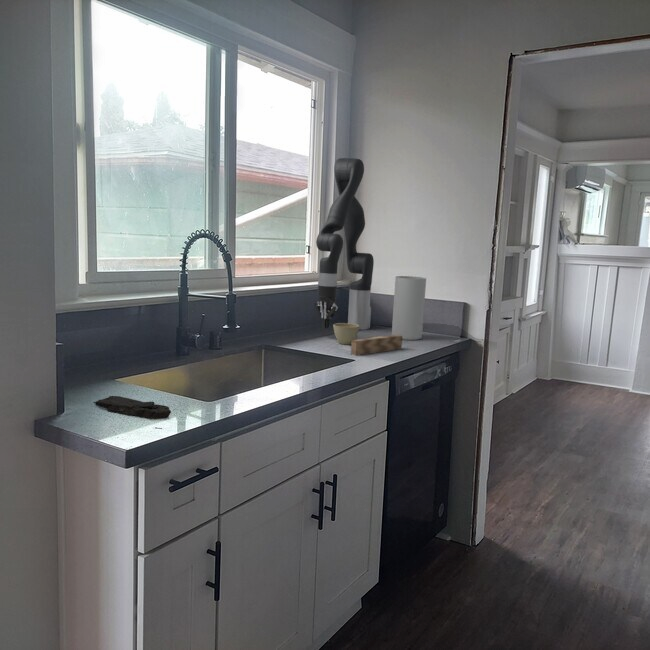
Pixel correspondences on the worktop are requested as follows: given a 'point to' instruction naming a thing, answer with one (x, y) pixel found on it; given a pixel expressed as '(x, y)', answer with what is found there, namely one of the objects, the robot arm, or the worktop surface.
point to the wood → (134, 407)
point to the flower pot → (345, 332)
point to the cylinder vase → (408, 307)
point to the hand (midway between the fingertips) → (325, 327)
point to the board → (376, 344)
